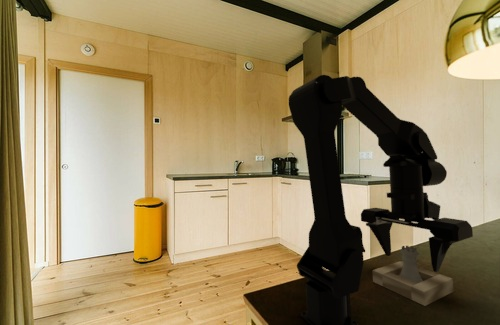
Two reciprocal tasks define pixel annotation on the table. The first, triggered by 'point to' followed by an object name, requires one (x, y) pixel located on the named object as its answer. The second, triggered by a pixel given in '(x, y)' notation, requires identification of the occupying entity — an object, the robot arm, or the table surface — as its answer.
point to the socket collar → (420, 292)
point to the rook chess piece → (410, 264)
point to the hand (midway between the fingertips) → (410, 262)
